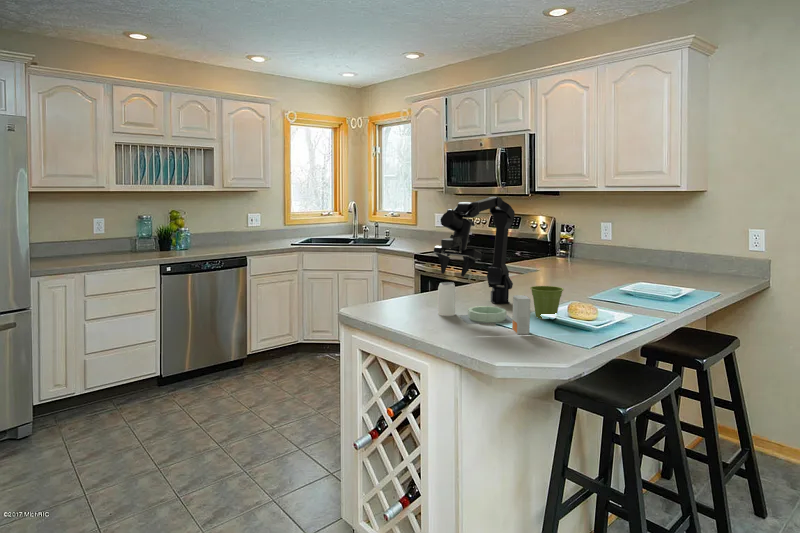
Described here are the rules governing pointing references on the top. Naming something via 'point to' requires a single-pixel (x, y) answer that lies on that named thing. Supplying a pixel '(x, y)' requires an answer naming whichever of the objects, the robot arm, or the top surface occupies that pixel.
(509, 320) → the slate mat
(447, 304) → the can
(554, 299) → the plant pot
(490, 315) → the bowl
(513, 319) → the skincare box
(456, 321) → the top surface
